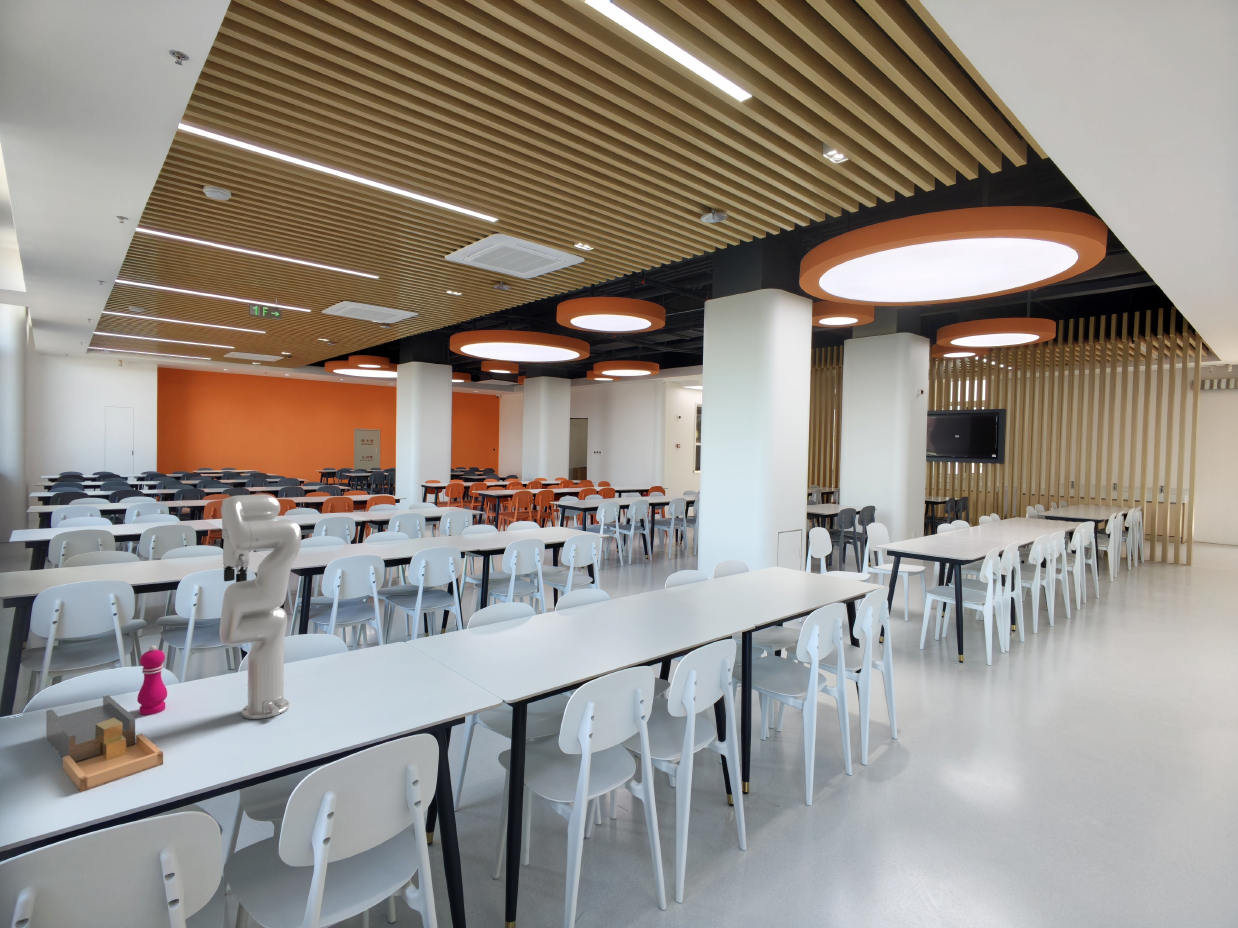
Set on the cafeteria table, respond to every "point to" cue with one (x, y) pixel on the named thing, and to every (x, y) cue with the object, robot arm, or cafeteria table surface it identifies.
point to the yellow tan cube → (108, 730)
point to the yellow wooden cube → (114, 748)
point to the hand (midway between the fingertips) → (235, 582)
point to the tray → (113, 765)
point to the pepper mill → (152, 683)
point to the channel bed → (86, 729)
